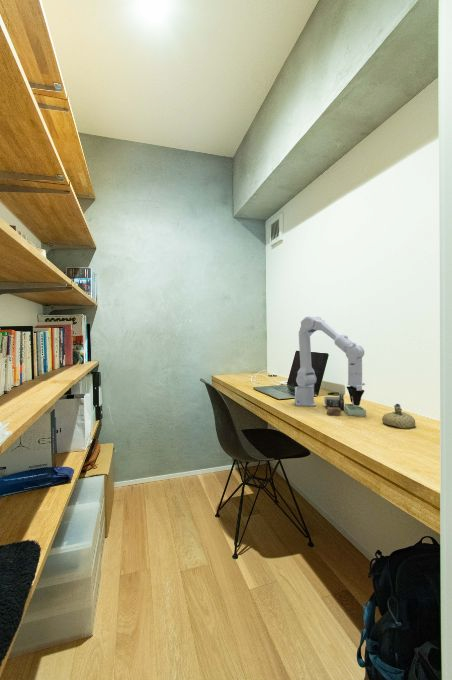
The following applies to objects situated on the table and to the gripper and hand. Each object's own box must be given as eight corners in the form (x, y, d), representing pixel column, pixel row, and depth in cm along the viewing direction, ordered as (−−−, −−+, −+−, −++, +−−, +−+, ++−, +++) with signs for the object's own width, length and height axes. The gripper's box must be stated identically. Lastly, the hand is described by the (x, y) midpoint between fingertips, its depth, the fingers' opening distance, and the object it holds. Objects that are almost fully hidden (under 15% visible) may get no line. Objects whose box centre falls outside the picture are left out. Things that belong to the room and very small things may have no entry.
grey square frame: (347, 410, 143) (347, 406, 143) (344, 407, 149) (344, 403, 148) (360, 410, 142) (360, 406, 142) (357, 407, 148) (357, 404, 148)
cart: (327, 410, 143) (327, 395, 143) (324, 405, 152) (324, 391, 152) (345, 410, 142) (345, 395, 141) (341, 405, 151) (341, 391, 151)
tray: (348, 415, 134) (348, 409, 134) (344, 411, 141) (344, 405, 141) (366, 416, 132) (366, 410, 132) (361, 411, 140) (361, 406, 140)
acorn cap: (419, 425, 121) (400, 404, 126) (419, 422, 112) (398, 399, 118) (397, 439, 123) (379, 417, 128) (395, 437, 114) (376, 414, 120)
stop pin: (352, 412, 136) (352, 397, 135) (350, 411, 139) (350, 395, 139) (359, 413, 135) (359, 397, 135) (358, 411, 138) (358, 395, 138)
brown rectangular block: (328, 416, 134) (328, 409, 134) (327, 413, 138) (327, 407, 138) (340, 416, 134) (340, 409, 134) (338, 414, 137) (338, 407, 137)
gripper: (369, 375, 128) (369, 408, 129) (360, 371, 143) (360, 400, 143) (351, 375, 129) (351, 407, 130) (344, 371, 144) (344, 400, 144)
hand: (355, 403), depth 136 cm, fingers open, 5 cm apart
